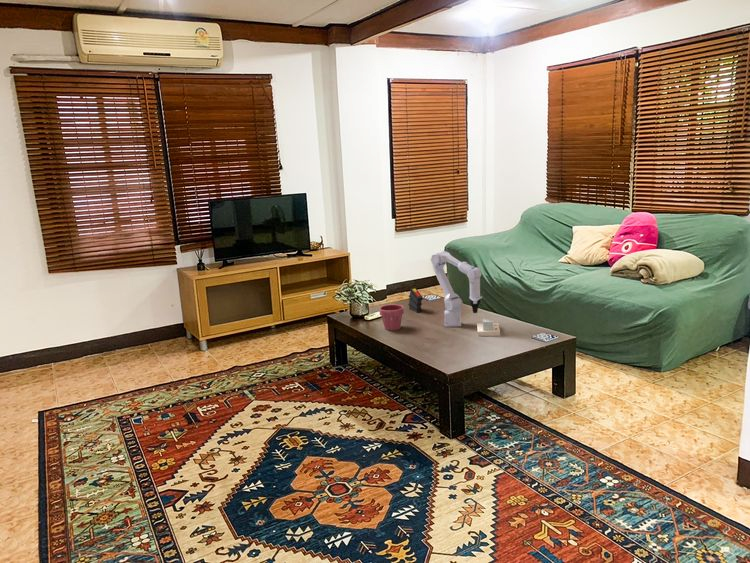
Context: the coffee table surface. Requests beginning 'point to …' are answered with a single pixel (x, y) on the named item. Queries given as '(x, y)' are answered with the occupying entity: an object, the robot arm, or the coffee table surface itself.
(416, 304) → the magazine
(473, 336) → the coffee table surface
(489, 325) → the plug
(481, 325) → the socket board
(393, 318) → the plant pot
